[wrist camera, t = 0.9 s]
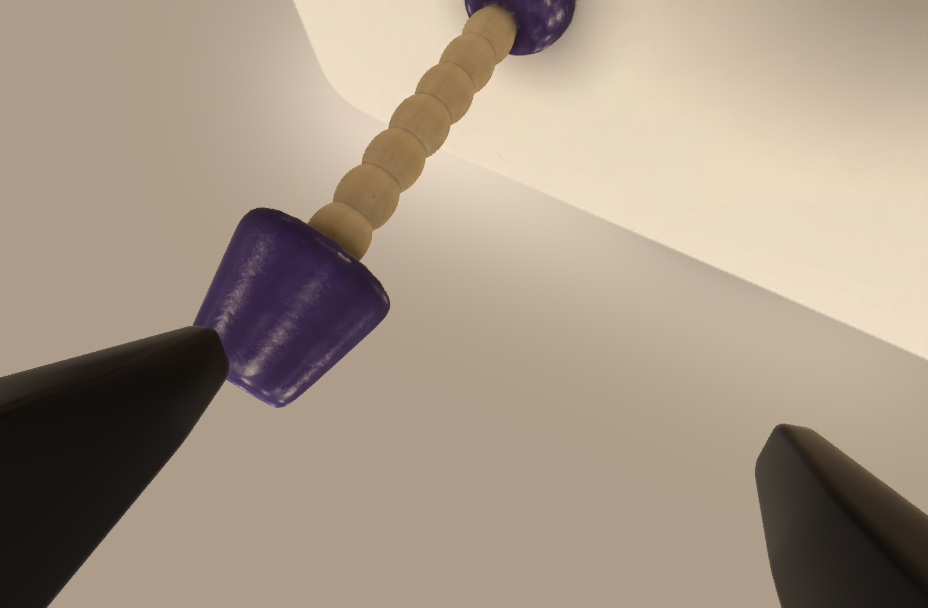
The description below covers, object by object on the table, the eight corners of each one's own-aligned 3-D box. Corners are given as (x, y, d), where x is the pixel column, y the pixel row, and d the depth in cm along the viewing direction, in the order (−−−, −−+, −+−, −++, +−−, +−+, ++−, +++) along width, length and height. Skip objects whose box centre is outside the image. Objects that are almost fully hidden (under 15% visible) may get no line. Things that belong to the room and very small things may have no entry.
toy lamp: (510, -121, 15) (121, 323, 10) (618, -11, 16) (314, 441, 11) (456, -11, 20) (165, 337, 15) (544, 70, 21) (301, 421, 16)
